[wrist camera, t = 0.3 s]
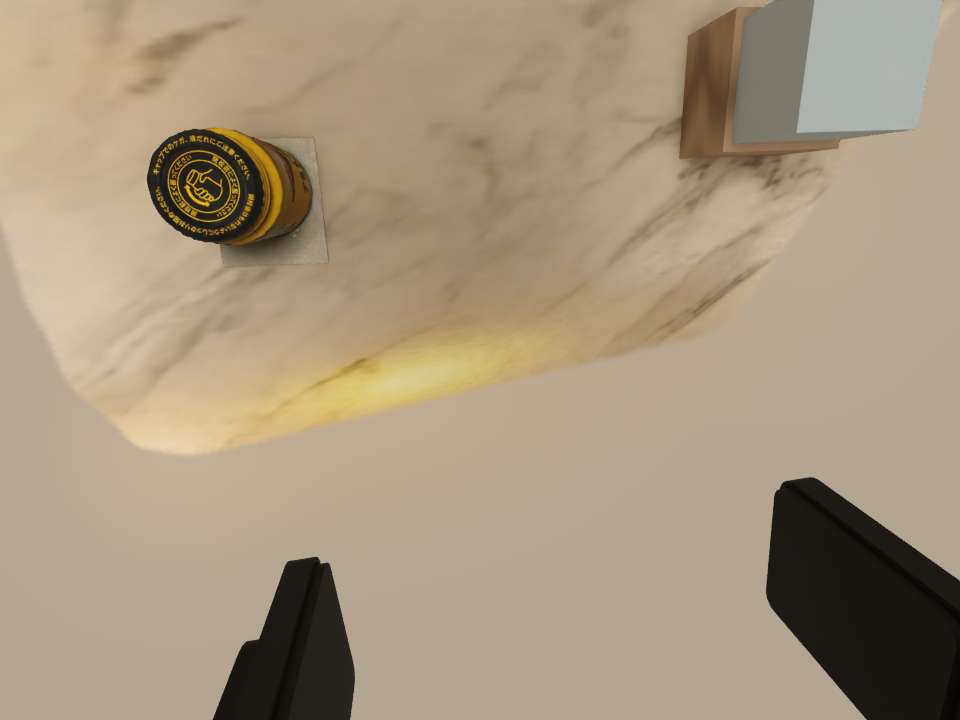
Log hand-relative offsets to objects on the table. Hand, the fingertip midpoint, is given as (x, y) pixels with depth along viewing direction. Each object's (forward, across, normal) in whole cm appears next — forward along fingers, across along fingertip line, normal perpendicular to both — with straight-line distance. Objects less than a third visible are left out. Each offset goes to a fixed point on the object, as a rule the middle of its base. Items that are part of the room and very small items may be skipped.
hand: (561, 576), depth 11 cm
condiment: (+31, +12, -8) cm, 35 cm away
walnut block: (+31, -22, -12) cm, 40 cm away
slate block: (+25, -22, -12) cm, 36 cm away
